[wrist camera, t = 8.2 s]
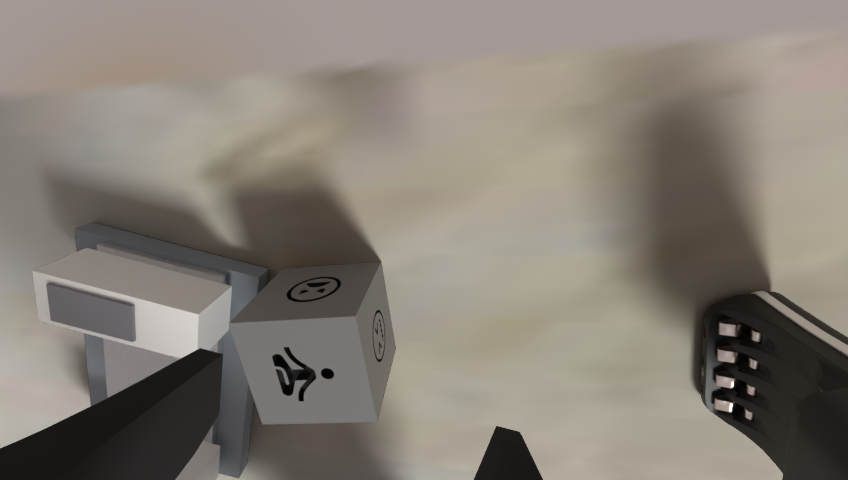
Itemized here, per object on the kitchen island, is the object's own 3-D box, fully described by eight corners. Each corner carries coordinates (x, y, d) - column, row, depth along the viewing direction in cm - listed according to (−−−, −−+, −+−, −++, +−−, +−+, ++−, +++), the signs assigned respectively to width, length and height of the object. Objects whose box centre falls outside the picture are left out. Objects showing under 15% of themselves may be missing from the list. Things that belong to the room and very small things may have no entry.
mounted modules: (218, 475, 23) (189, 522, 21) (102, 445, 23) (59, 488, 21) (232, 286, 18) (196, 316, 16) (86, 247, 18) (27, 272, 16)
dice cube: (283, 268, 20) (228, 323, 15) (381, 260, 19) (355, 316, 14) (305, 351, 21) (262, 424, 17) (396, 347, 21) (377, 422, 16)
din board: (247, 463, 25) (234, 485, 23) (107, 427, 25) (86, 447, 23) (268, 268, 20) (253, 282, 18) (93, 222, 20) (64, 232, 18)
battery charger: (683, 293, 18) (998, 581, 7) (775, 281, 18) (1259, 577, 7) (680, 411, 20) (919, 760, 10) (762, 404, 20) (1109, 767, 9)
